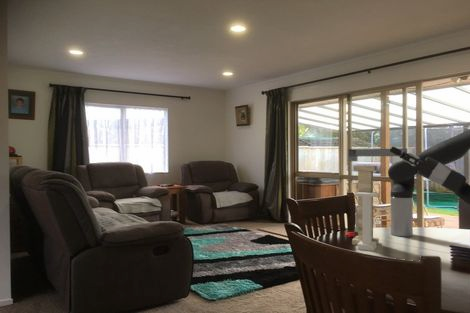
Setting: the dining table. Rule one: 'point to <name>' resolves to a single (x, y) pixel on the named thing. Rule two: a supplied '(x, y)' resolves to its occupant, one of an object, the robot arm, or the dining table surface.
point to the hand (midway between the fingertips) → (391, 148)
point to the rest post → (366, 221)
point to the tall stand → (363, 186)
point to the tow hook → (355, 233)
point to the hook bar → (370, 153)
